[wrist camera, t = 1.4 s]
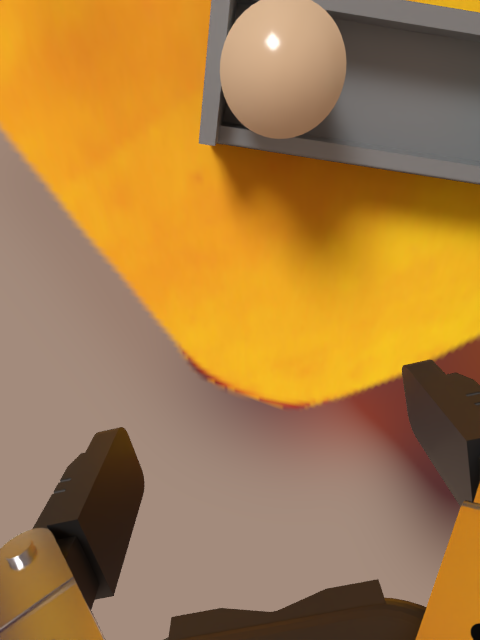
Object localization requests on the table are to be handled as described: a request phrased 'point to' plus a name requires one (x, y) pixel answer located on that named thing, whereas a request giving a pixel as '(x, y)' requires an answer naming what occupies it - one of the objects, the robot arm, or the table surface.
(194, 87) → the table surface
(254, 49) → the beige domed canister
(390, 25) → the lane
